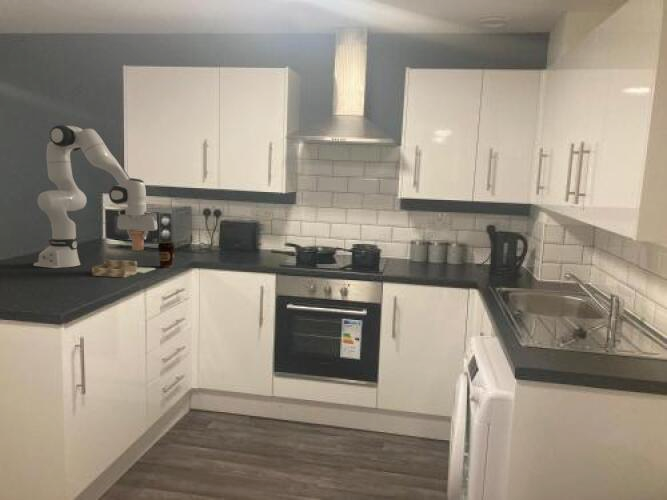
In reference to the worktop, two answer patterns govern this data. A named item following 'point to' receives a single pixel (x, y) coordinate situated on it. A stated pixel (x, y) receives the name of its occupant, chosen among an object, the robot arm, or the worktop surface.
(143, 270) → the mat
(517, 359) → the worktop surface
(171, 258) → the dark brown jar
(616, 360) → the worktop surface
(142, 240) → the pot
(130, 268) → the wooden compartment tray
